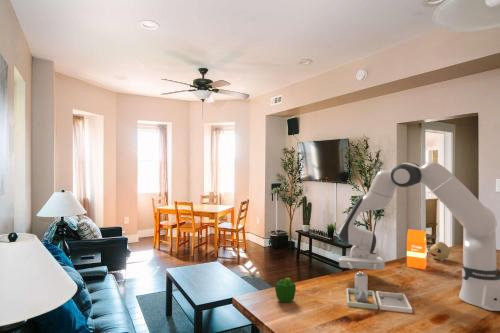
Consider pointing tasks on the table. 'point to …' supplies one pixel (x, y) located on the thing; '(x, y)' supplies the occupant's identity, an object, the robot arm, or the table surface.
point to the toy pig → (439, 251)
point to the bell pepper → (285, 290)
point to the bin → (362, 305)
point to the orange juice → (416, 249)
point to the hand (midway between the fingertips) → (362, 268)
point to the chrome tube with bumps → (361, 287)
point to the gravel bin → (393, 302)
